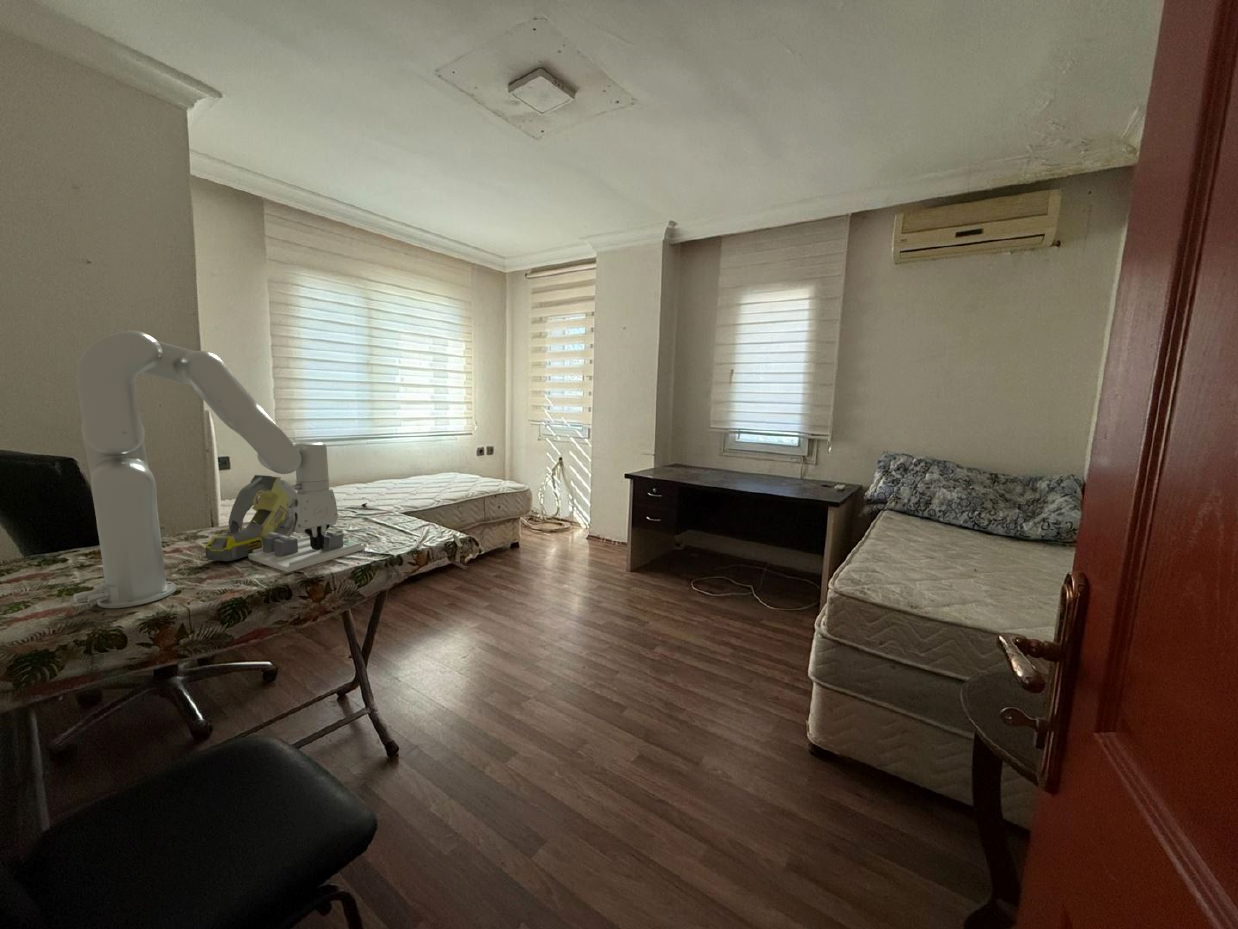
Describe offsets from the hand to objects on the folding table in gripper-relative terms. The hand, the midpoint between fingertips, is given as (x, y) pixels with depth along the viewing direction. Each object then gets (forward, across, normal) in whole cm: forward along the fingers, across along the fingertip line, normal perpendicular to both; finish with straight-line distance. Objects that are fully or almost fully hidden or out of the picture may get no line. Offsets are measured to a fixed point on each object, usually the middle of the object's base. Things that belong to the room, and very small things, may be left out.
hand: (317, 548), depth 134 cm
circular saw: (+3, -2, +25) cm, 25 cm away
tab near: (+2, +4, 0) cm, 4 cm away
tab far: (+2, -5, +12) cm, 13 cm away
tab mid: (+2, -5, +6) cm, 8 cm away
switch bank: (+3, +1, +6) cm, 7 cm away
